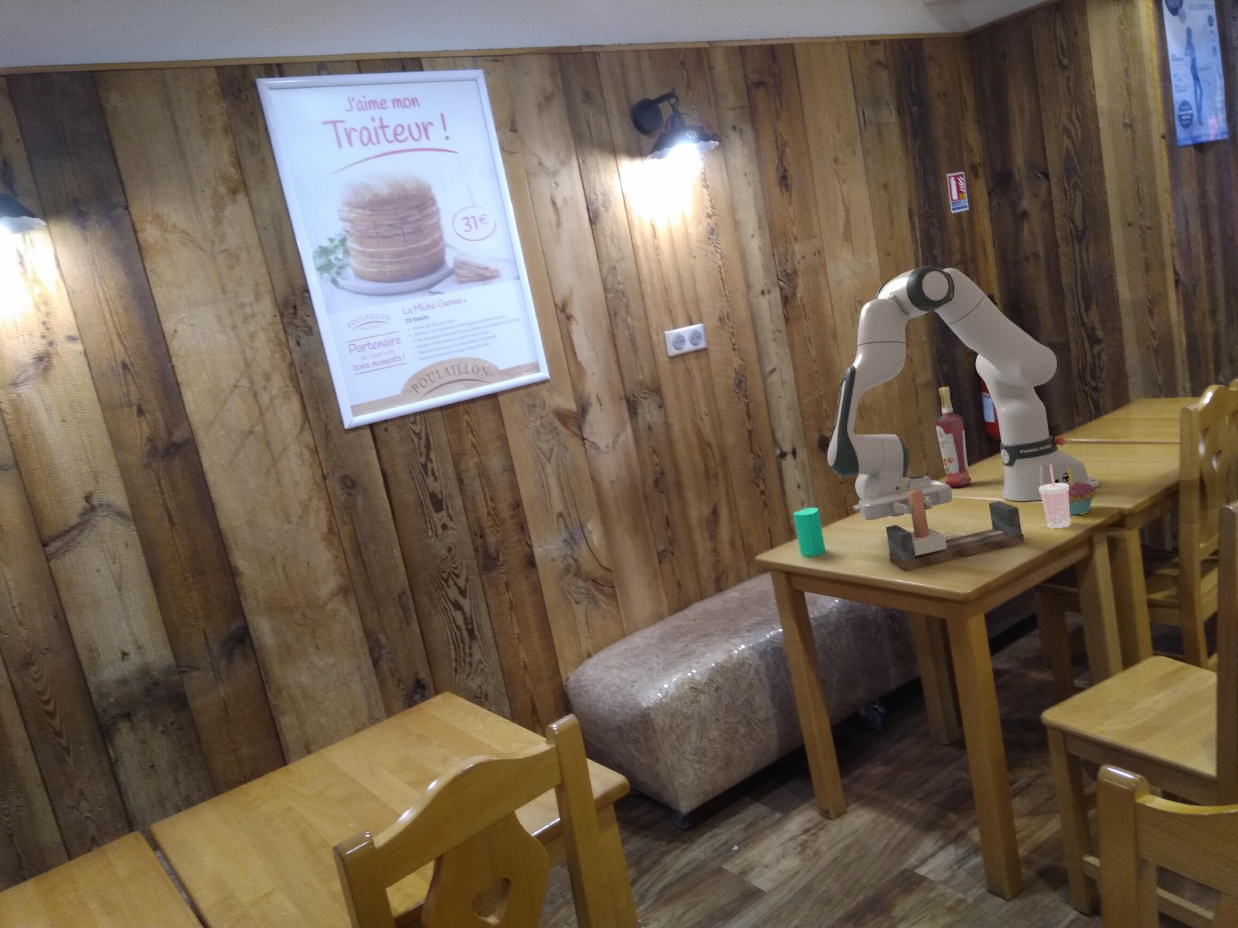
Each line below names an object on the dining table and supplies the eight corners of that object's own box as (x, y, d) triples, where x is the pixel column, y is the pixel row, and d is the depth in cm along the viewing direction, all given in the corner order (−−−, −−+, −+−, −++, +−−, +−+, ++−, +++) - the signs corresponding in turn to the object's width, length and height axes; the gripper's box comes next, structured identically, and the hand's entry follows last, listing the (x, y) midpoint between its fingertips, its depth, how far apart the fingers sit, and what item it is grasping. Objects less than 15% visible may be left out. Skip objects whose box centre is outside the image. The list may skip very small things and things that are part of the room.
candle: (823, 546, 222) (815, 500, 220) (827, 553, 216) (818, 505, 214) (799, 551, 222) (791, 504, 220) (802, 558, 216) (793, 510, 215)
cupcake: (1096, 516, 201) (1089, 464, 199) (1054, 518, 206) (1047, 468, 204) (1099, 505, 208) (1092, 455, 206) (1058, 508, 213) (1052, 459, 211)
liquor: (978, 484, 249) (963, 385, 244) (954, 490, 247) (939, 391, 243) (962, 480, 256) (948, 384, 252) (939, 486, 255) (924, 390, 250)
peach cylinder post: (932, 541, 200) (923, 484, 198) (946, 548, 193) (937, 490, 191) (902, 548, 199) (892, 491, 197) (915, 555, 192) (905, 497, 190)
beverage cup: (1059, 519, 204) (1051, 460, 202) (1080, 523, 198) (1072, 462, 196) (1037, 526, 202) (1029, 466, 200) (1058, 531, 197) (1050, 469, 194)
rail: (1005, 534, 202) (1000, 500, 200) (1024, 542, 194) (1019, 507, 192) (890, 561, 200) (884, 527, 199) (904, 571, 192) (898, 535, 191)
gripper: (848, 493, 206) (870, 504, 193) (933, 473, 207) (961, 483, 194) (852, 519, 207) (875, 532, 194) (937, 500, 208) (965, 511, 195)
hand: (919, 507), depth 194 cm, fingers closed on peach cylinder post, 3 cm apart
